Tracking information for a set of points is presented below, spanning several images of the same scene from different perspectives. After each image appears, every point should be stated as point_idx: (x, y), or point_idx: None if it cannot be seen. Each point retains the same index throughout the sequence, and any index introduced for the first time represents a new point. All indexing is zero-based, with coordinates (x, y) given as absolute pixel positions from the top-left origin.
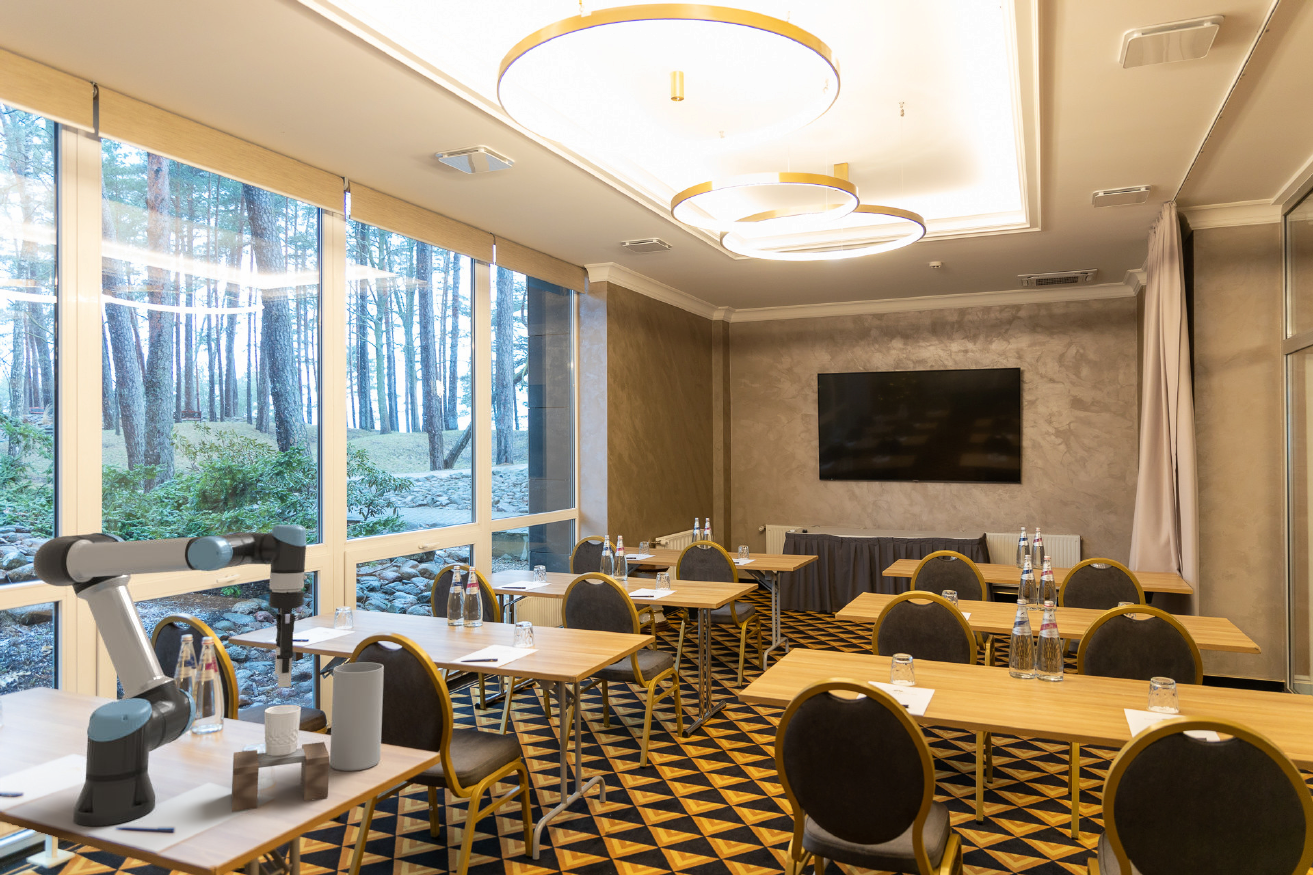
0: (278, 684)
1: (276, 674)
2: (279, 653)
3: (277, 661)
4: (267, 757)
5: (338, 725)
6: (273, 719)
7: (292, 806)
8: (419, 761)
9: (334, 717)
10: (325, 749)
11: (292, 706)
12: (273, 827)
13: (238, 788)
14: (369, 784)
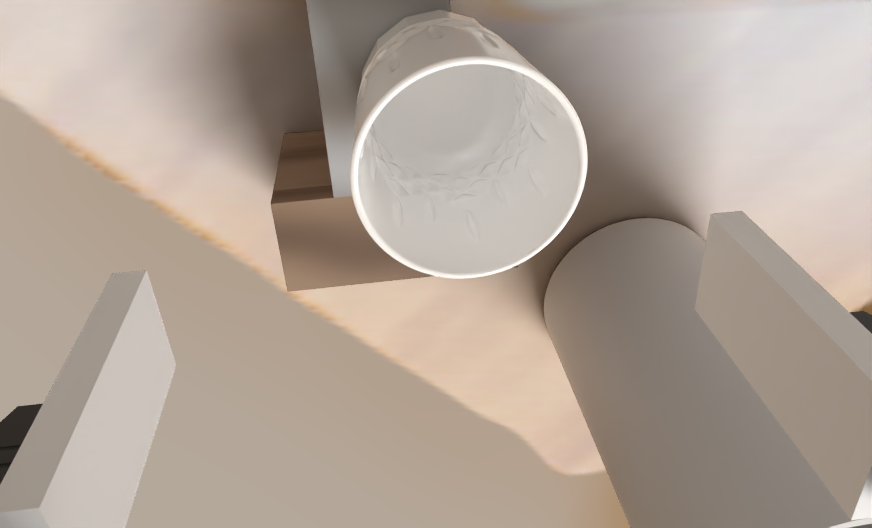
0: (106, 293)
1: (708, 227)
2: (828, 382)
3: (775, 305)
4: (356, 22)
5: (640, 336)
6: (364, 109)
7: (236, 91)
8: (550, 455)
9: (683, 339)
10: (398, 274)
11: (550, 225)
12: (14, 26)
13: None
14: (389, 329)
